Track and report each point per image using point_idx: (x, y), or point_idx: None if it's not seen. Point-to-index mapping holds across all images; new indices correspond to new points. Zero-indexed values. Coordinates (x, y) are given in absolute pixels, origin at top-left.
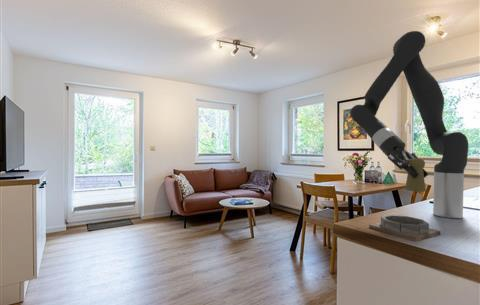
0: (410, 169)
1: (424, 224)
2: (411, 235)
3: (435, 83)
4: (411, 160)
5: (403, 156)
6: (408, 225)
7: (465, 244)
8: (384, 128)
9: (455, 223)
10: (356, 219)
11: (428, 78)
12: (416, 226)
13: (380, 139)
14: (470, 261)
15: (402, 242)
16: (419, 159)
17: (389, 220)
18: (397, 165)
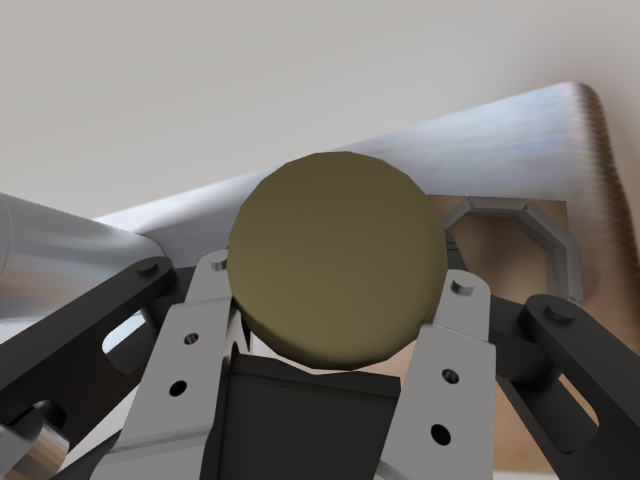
0: (463, 268)
1: (493, 199)
2: (552, 215)
3: None
4: (443, 269)
5: (485, 458)
6: (556, 224)
7: (445, 133)
8: None
9: (227, 223)
10: (507, 462)
11: None
12: (535, 207)
13: None
14: (574, 86)
15: (607, 217)
16: (375, 173)
17: (569, 290)
18: (584, 412)
